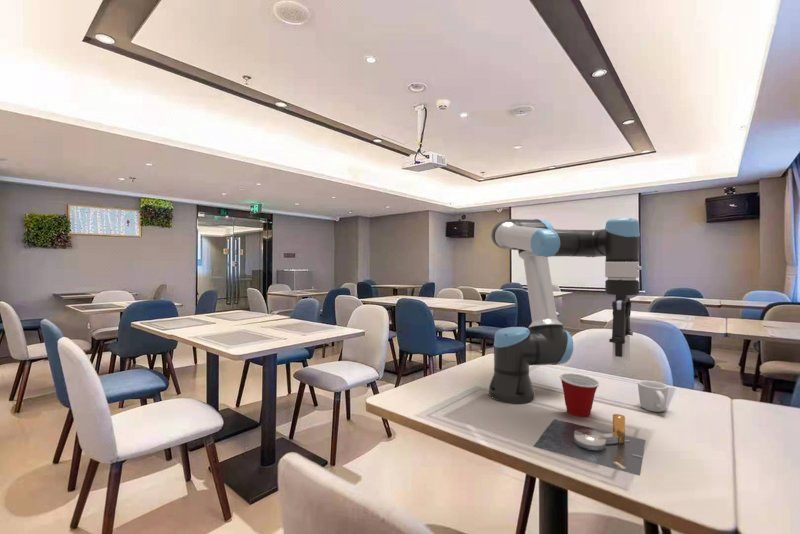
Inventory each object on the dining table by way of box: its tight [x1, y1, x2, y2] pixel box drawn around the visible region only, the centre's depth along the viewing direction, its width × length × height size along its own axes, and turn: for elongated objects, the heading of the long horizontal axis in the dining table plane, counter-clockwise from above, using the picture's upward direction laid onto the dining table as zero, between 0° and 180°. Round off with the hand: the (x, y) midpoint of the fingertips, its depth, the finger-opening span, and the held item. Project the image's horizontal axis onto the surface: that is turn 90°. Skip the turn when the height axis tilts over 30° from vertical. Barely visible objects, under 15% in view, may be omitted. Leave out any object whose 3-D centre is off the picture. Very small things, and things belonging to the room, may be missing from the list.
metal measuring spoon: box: [574, 413, 626, 450], centre depth 94 cm, size 13×7×6 cm, turn 99°
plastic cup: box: [559, 372, 601, 418], centre depth 113 cm, size 11×11×12 cm
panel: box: [533, 419, 646, 476], centre depth 94 cm, size 22×20×2 cm
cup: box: [637, 379, 669, 413], centre depth 119 cm, size 11×8×8 cm
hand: (621, 364), depth 98 cm, fingers open, 11 cm apart
